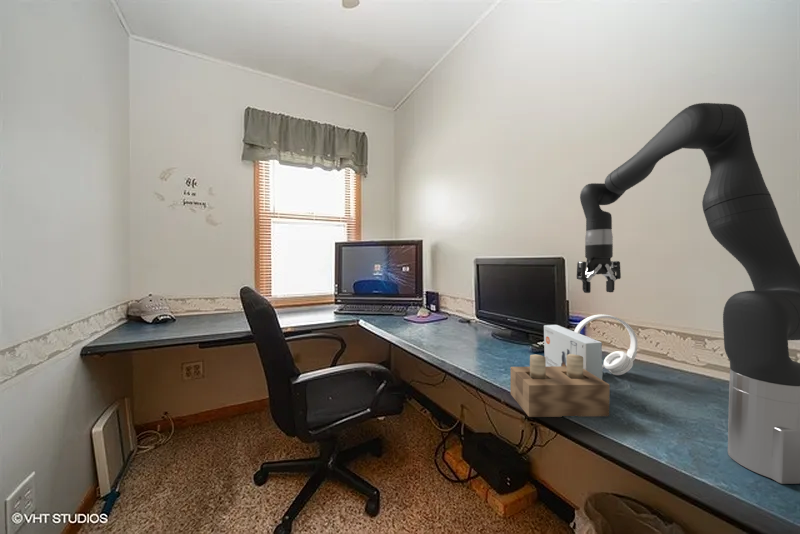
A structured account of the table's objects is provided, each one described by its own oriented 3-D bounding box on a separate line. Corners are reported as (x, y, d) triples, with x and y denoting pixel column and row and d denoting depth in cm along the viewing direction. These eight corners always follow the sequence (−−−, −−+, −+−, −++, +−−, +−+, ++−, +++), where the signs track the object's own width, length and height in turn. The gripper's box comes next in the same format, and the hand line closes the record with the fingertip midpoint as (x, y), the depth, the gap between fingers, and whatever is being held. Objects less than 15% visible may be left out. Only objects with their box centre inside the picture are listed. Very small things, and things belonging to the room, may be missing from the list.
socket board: (579, 393, 83) (579, 366, 83) (609, 416, 71) (609, 384, 71) (510, 393, 83) (510, 366, 83) (528, 416, 71) (529, 385, 71)
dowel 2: (586, 389, 75) (586, 359, 75) (571, 389, 75) (572, 359, 75) (577, 382, 79) (577, 354, 79) (563, 382, 79) (563, 354, 79)
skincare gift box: (542, 369, 101) (542, 324, 101) (557, 368, 102) (557, 324, 101) (585, 398, 80) (586, 342, 80) (603, 397, 81) (604, 341, 80)
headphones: (642, 380, 91) (643, 318, 91) (578, 376, 95) (578, 316, 94) (627, 370, 99) (628, 313, 98) (569, 367, 103) (569, 312, 102)
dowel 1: (548, 389, 75) (548, 359, 75) (533, 389, 75) (533, 359, 75) (541, 383, 79) (541, 354, 79) (527, 383, 79) (527, 354, 79)
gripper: (588, 243, 90) (588, 294, 91) (627, 243, 92) (627, 293, 93) (570, 244, 98) (570, 291, 98) (608, 244, 100) (608, 290, 100)
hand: (598, 292), depth 95 cm, fingers open, 8 cm apart
